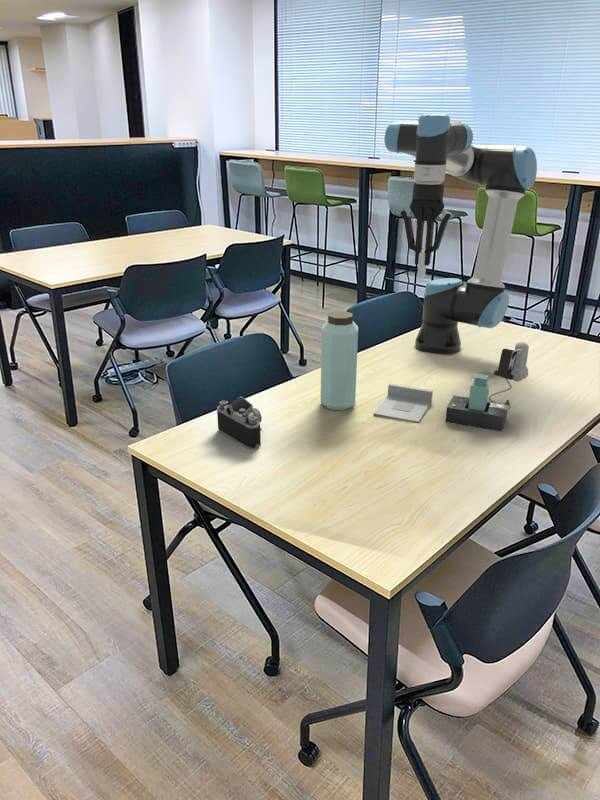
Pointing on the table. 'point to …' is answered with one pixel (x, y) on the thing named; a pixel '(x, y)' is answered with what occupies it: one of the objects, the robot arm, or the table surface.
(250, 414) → the camera
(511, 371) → the clip-on lamp
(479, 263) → the robot arm
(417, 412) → the grey lipped plate
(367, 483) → the table surface
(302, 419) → the table surface
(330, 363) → the water bottle
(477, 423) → the port
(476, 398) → the plug
